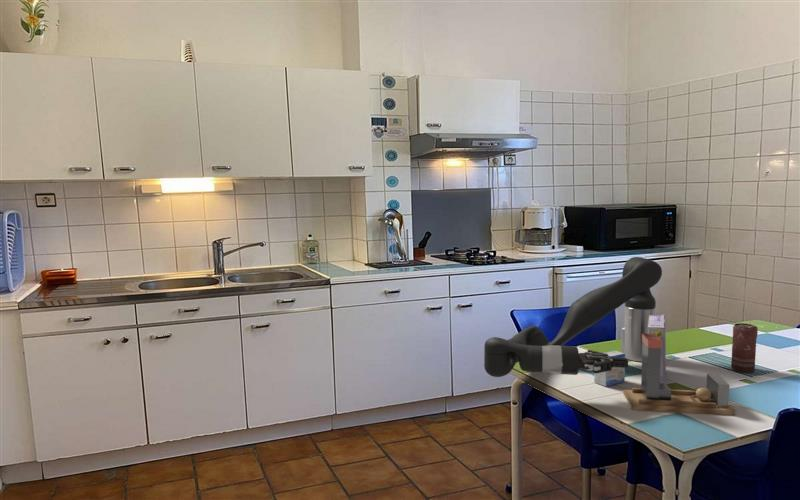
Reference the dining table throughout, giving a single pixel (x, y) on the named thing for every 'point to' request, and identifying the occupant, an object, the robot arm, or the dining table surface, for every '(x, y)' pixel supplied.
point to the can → (744, 347)
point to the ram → (652, 369)
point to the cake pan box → (658, 328)
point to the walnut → (703, 394)
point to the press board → (675, 403)
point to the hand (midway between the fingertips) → (627, 362)
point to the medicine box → (611, 372)
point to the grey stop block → (718, 390)
